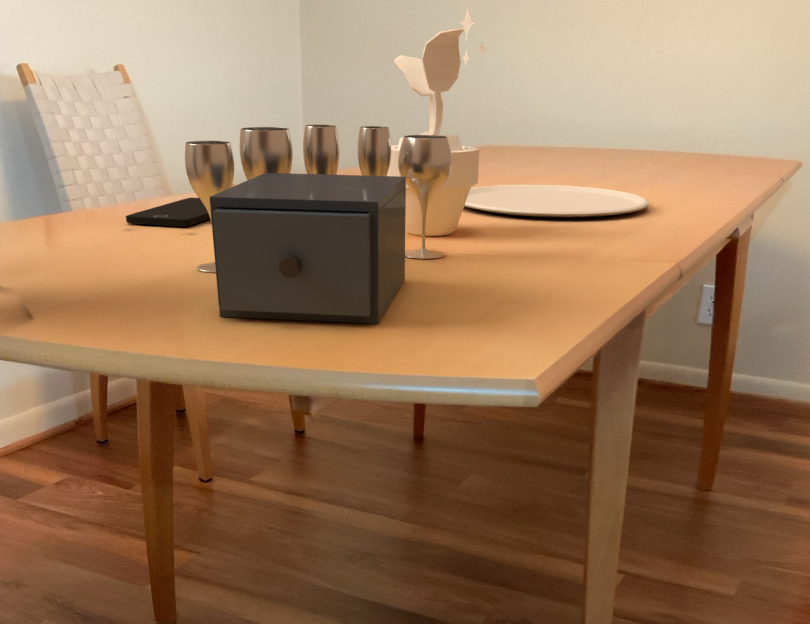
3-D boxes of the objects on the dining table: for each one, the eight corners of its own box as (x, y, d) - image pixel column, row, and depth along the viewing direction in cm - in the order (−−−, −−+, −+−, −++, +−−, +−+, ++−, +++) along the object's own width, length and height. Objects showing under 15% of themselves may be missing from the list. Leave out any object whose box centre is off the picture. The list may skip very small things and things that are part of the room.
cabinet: (378, 324, 76) (378, 201, 71) (219, 317, 77) (209, 196, 73) (404, 280, 90) (405, 176, 86) (270, 275, 92) (264, 172, 87)
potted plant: (494, 236, 112) (506, 0, 100) (410, 243, 107) (413, -4, 96) (442, 221, 122) (448, 4, 110) (363, 227, 117) (361, 1, 105)
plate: (688, 208, 135) (689, 199, 134) (562, 229, 117) (563, 219, 117) (536, 187, 154) (537, 179, 153) (409, 203, 136) (409, 194, 136)
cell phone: (125, 223, 117) (124, 215, 116) (190, 204, 132) (189, 197, 132) (187, 227, 115) (187, 219, 114) (246, 207, 130) (246, 200, 130)
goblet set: (200, 275, 91) (186, 130, 85) (191, 264, 96) (177, 125, 90) (457, 258, 100) (462, 125, 94) (437, 248, 105) (440, 121, 99)
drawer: (366, 320, 73) (365, 218, 70) (216, 313, 75) (207, 213, 71) (395, 276, 88) (396, 189, 84) (269, 271, 89) (264, 186, 85)
